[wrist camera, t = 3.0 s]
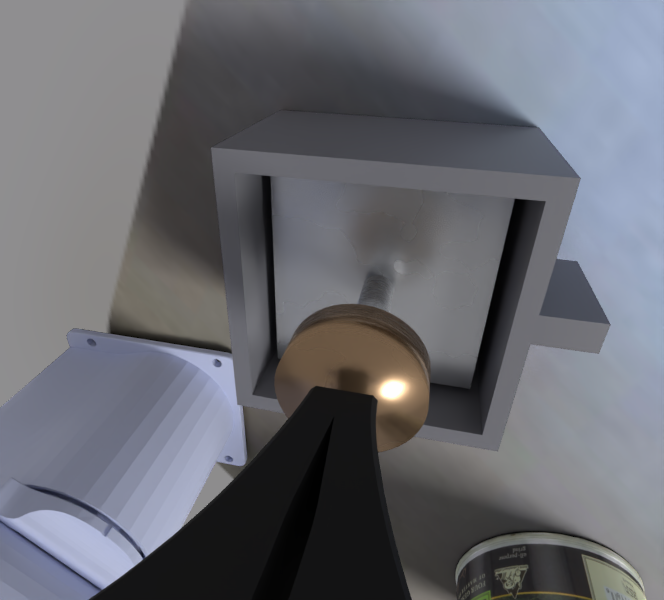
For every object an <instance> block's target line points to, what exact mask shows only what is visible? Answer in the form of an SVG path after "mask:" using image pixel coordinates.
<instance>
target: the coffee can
mask: <svg viewBox="0 0 664 600" xmlns="http://www.w3.org/2000/svg"><path fill="white" fill-rule="evenodd" d="M455 579H456V585H457V600H647V599H646V596H645V591H644V586H643V583H642V580H641V578H640V576H639V574H638V572H637V571H636V570H635V569H634V568H633V567H632V566H631V565H630V564H629V563H628V562H627V561H626V560H625V559H623V558H622V557H620V556H619V555H618V554H616V553H615V552H613V551H611V550H609V549H607V548H605V547H603V546H601V545H599V544H596V543H593V542H590V541H587V540H585V539H582V538H578V537H571V536H567V535H563V534H555V533H547V532H523V533H513V534H507V535H501V536H498V537H495V538H492V539H489V540H486V541H484V542H482V543H480V544H478V545H476V546H474V547H473V548H471V549H470V550H469V551H468V552H467V553H465V555H464V556H463V557H462V558H461V559H460V561H459V563H458V565H457V568H456V573H455Z"/></svg>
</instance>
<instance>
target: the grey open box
mask: <svg viewBox="0 0 664 600" xmlns="http://www.w3.org/2000/svg"><path fill="white" fill-rule="evenodd" d="M211 154H212V164H213V174H214V184H215V193H216V203H217V213H218V222H219V232H220V242H221V251H222V261H223V271H224V281H225V290H226V300H227V310H228V319H229V329H230V339H231V349H232V358H233V368H234V378H235V387H236V397H237V405H241V406H246V407H252V408H258V409H263V410H269V411H274V412H280V413H284V412H283V410H282V408H281V407H280V404H279V402H278V400H277V396H276V393H275V386H274V382H275V373H276V369H277V367H278V364H279V362H280V360H281V359H279V358H278V351H277V327H276V302H275V277H274V252H273V228H272V203H271V178H270V176H277V177H288V178H299V179H309V180H320V181H331V182H342V183H353V184H364V185H375V186H385V187H396V188H407V189H418V190H429V191H440V192H451V193H462V194H472V195H483V196H494V197H505V198H515V200H514V204H513V209H512V213H511V217H510V221H509V226H508V230H507V234H506V238H505V243H504V247H503V251H502V255H501V259H500V264H499V268H498V272H497V276H496V281H495V285H494V289H493V293H492V298H491V302H490V306H489V310H488V315H487V319H486V323H485V327H484V332H483V336H482V340H481V344H480V349H479V353H478V357H477V361H476V366H475V370H474V374H473V378H472V383H471V387H470V389H468V388H462V387H455V386H449V385H443V384H436V383H430V394H429V408H428V414H427V417H426V420H425V422H424V424H423V426H422V427H421V429H420V430H419V431H418V433H417V434H416V435H415V436H414V437H420V438H425V439H431V440H437V441H442V442H448V443H453V444H459V445H465V446H470V447H476V448H481V449H487V450H492V451H498V449H499V446H500V443H501V440H502V436H503V433H504V430H505V426H506V423H507V420H508V416H509V413H510V410H511V407H512V403H513V400H514V397H515V393H516V390H517V387H518V383H519V380H520V377H521V374H522V370H523V367H524V364H525V360H526V357H527V354H528V350H529V347H530V344H533V345H540V346H547V347H554V348H561V349H568V350H575V351H583V352H590V353H597V354H599V352H600V349H601V347H602V345H603V342H604V340H605V337H606V335H607V332H608V330H609V327H610V323H609V321H608V319H607V317H606V315H605V313H604V311H603V309H602V307H601V306H600V304H599V302H598V300H597V298H596V296H595V294H594V292H593V290H592V288H591V287H590V285H589V283H588V281H587V279H586V277H585V275H584V273H583V271H582V269H581V268H580V266H579V264H578V262H577V261H569V260H560V259H556V258H557V255H558V251H559V248H560V245H561V242H562V238H563V235H564V232H565V228H566V225H567V222H568V218H569V215H570V212H571V209H572V205H573V202H574V199H575V195H576V192H577V189H578V186H579V182H580V179H581V178H580V177H579V176H578V175H577V173H576V172H575V171H574V170H573V168H572V167H571V166H570V165H569V164H568V162H567V161H566V160H565V159H564V157H563V156H562V155H561V154H560V153H559V151H558V150H557V149H556V148H555V146H554V145H553V144H552V143H551V142H550V140H549V139H548V138H547V137H546V136H545V134H544V133H543V132H542V131H541V129H540V128H539V127H524V126H509V125H494V124H480V123H465V122H450V121H435V120H420V119H405V118H391V117H376V116H361V115H346V114H331V113H316V112H302V111H287V110H280V111H278V112H276V113H274V114H272V115H271V116H269V117H267V118H265V119H263V120H261V121H259V122H258V123H256V124H254V125H252V126H250V127H248V128H246V129H244V130H243V131H241V132H239V133H237V134H235V135H233V136H231V137H230V138H228V139H226V140H224V141H222V142H220V143H218V144H216V145H215V146H213V147H211Z"/></svg>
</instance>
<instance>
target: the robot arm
mask: <svg viewBox="0 0 664 600" xmlns="http://www.w3.org/2000/svg"><path fill="white" fill-rule="evenodd" d="M67 340H68V343H69V346H70V348H69V349H67V350H66V351H65V352H64V353H63V354H62V355H61V356H59V357H58V358H57V359H56V360H55V361H54V362H52V363H51V364H50V365H49V366H48V367H47V368H46V369H44V370H43V371H42V372H41V373H40V374H39V375H37V377H35V378H34V379H33V380H32V381H30V382H29V383H28V384H27V385H26V386H25V387H24V388H22V389H21V390H20V391H19V392H18V393H17V394H15V395H14V396H13V397H12V398H11V399H10V400H8V401H7V402H6V403H5V404H4V405H3V406H1V407H0V600H412V599H411V596H410V593H409V589H408V586H407V583H406V579H405V576H404V572H403V569H402V566H401V562H400V558H399V555H398V551H397V547H396V543H395V539H394V535H393V531H392V527H391V522H390V518H389V514H388V509H387V504H386V499H385V495H384V489H383V483H382V477H381V471H380V465H379V457H378V449H377V437H376V413H377V404H378V400H377V399H376V398H375V397H374V396H373V395H368V394H362V393H356V392H350V391H344V390H338V389H332V388H326V387H320V386H315V387H313V388H312V389H310V391H309V392H308V394H307V395H306V397H305V398H304V399H303V401H302V402H301V403H300V405H299V406H298V407H297V409H296V410H295V411H294V413H293V414H292V415H291V416H290V418H289V419H288V420H287V421H286V422H285V424H284V425H283V426H282V427H281V429H280V430H279V431H278V432H277V433H276V434H275V436H274V437H273V438H272V439H271V440H270V441H269V442H268V443H267V445H266V446H265V447H264V448H263V449H262V450H261V451H260V452H259V454H258V455H257V456H256V457H255V458H254V459H253V460H252V461H251V462H250V463H249V464H248V465H247V466H246V467H245V469H244V470H243V471H242V472H241V473H240V474H239V475H238V476H237V477H236V478H235V479H234V480H233V481H232V482H231V483H230V484H229V485H228V486H227V487H226V488H225V489H224V490H223V491H222V492H221V493H220V494H219V495H218V496H217V497H216V498H215V499H213V500H212V501H211V502H210V503H209V504H208V505H207V506H206V507H205V508H204V509H203V510H202V511H200V512H199V513H198V514H197V515H196V516H195V517H194V518H193V519H191V520H190V521H189V522H188V523H187V524H186V525H184V527H182V525H183V524H184V522H185V520H186V518H187V516H188V514H189V512H190V510H191V508H192V506H193V505H194V503H195V501H196V499H197V497H198V495H199V493H200V491H201V489H202V488H203V486H204V484H205V482H206V480H207V478H208V476H209V474H210V473H211V471H212V469H213V467H214V465H215V463H216V462H221V463H226V464H231V465H236V466H242V465H244V464H245V463H246V461H247V448H246V437H245V427H244V416H243V406H241V405H237V397H236V387H235V378H234V368H233V358H232V354H231V353H227V352H221V351H215V350H209V349H202V348H196V347H190V346H184V345H177V344H171V343H165V342H159V341H152V340H146V339H140V338H134V337H127V336H121V335H115V334H109V333H102V332H96V331H90V330H84V329H77V328H75V329H72V330H71V331H69V332H68V334H67ZM216 359H218V360H219V361H221V363H220V362H218V361H217V360H216ZM181 527H182V528H181Z"/></svg>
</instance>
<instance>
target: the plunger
mask: <svg viewBox="0 0 664 600" xmlns="http://www.w3.org/2000/svg"><path fill="white" fill-rule="evenodd" d="M270 178H271V203H272V228H273V252H274V277H275V302H276V327H277V351H278V358H279V359H281V360H280V362H279V364H278V367H277V369H276V373H275V382H274V386H275V393H276V396H277V400H278V402H279V404H280V407H281V408H282V410H283V412H284V413H285V415H286V416H287V417H288V419H289V418H290V416H291V415H292V414H293V413H294V411H295V410H296V409H297V407H298V406H299V405H300V403H301V402H302V401H303V399H304V398H305V397H306V395H307V394H308V392H309V391H310V389H312V388H313V387H315V386H320V387H326V388H332V389H338V390H344V391H350V392H356V393H362V394H368V395H373V396H374V397H375V398H376V399H377V400H378V404H377V413H376V437H377V449H378V452H382V451H386V450H390V449H393V448H395V447H398V446H400V445H402V444H404V443H406V442H407V441H408V440H410V439H411V438H412V437H414V436H415V435H416V434H417V433H418V431H419V430H420V429H421V427H422V426H423V424H424V422H425V420H426V417H427V414H428V408H429V394H430V383H436V384H443V385H449V386H455V387H462V388H468V389H470V387H471V383H472V378H473V374H474V370H475V366H476V361H477V357H478V353H479V349H480V344H481V340H482V336H483V332H484V327H485V323H486V319H487V315H488V310H489V306H490V302H491V298H492V293H493V289H494V285H495V281H496V276H497V272H498V268H499V264H500V259H501V255H502V251H503V247H504V243H505V238H506V234H507V230H508V226H509V221H510V217H511V213H512V209H513V204H514V200H515V198H505V197H494V196H483V195H472V194H462V193H451V192H440V191H429V190H418V189H407V188H396V187H385V186H375V185H364V184H353V183H342V182H331V181H320V180H309V179H299V178H288V177H277V176H270Z"/></svg>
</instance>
